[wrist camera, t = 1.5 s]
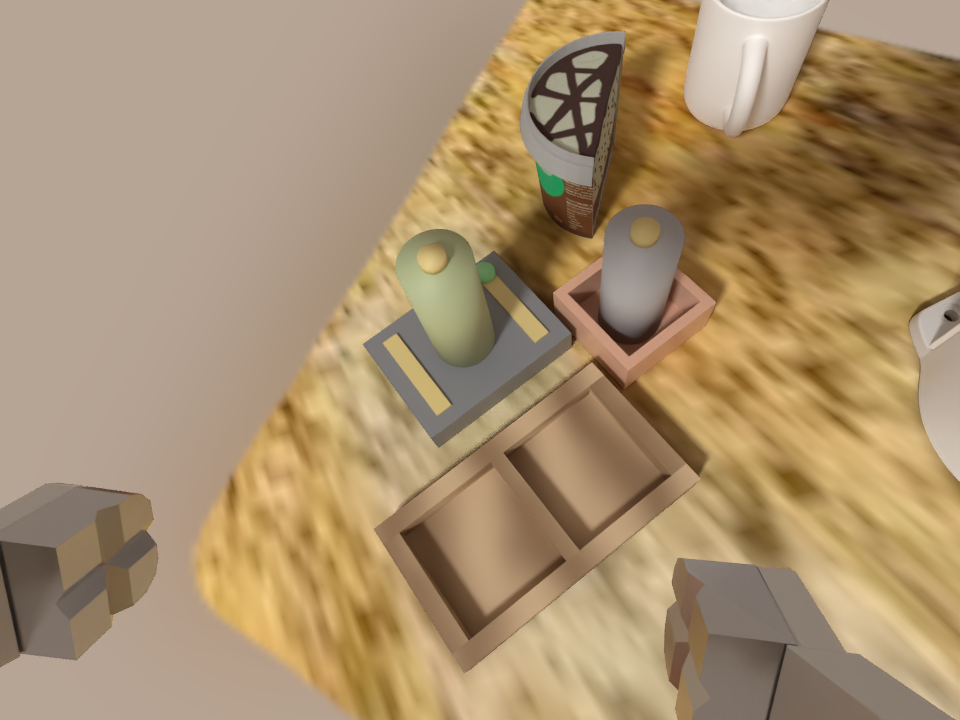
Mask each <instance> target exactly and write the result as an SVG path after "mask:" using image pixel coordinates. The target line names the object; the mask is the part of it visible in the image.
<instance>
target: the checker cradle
mask: <svg viewBox="0 0 960 720" xmlns="http://www.w3.org/2000/svg"><path fill="white" fill-rule="evenodd" d="M476 266H477V270H478V274H479V277H480V281H481V284H482V288H483V291H484V295H485V299H486V302H487V306H488V309H489V313H490V316H491V320H492V324H493V327H494V331H495V344H494V347H493V349H492V351H491V353H490V354H489V355H488V356H487V358H486V359H484V360H483V361H482V362H480V363H478V364H476V365H474V366H471V367H464V368H461V367H454V366H451V365H449V364H447V363H445V362H444V361H443V360H442V359H441V358H440V357H439V356H438V354H437V352H436V350H435V349H434V347H433V345H432V343H431V341H430V339H429V337H428V335H427V333H426V331H425V330H424V328H423V326H422V324H421V322H420V320H419V318H418V316H417V314H416V313H415V311H414V309H412V310H410V311H409V312H407V313H406V314H405V315H403V316H402V317H400V318H399V319H398V320H396V321H395V322H393V323H392V324H391V325H389V326H388V327H386V328H385V329H384V330H382V331H381V332H379V333H378V334H377V335H375V336H374V337H372V338H371V339H370V340H368V341H367V342H365V343H364V344H363V345H364V347H365V348H366V349H367V351H368V352H369V354H370V355H371V356H372V358H373V359H374V360H375V362H376V363H377V365H378V366H379V367H380V369H381V370H382V371H383V373H384V374H385V376H386V377H387V378H388V380H389V381H390V382H391V384H392V385H393V387H394V388H395V389H396V391H397V392H398V393H399V395H400V396H401V398H402V399H403V400H404V402H405V403H406V404H407V406H408V407H409V409H410V410H411V411H412V413H413V414H414V415H415V417H416V418H417V420H418V421H419V422H420V424H421V425H422V426H423V428H424V429H425V431H426V432H427V433H428V435H429V436H430V437H431V439H432V440H433V441H434V442H435V444H436V445H437V446H438V447H440V446H442V445H443V444H444V443H446V442H447V441H448V440H450V439H451V438H452V437H454V436H455V435H456V434H457V433H459V432H460V431H461V430H463V429H464V428H465V427H467V426H468V425H469V424H471V423H472V422H473V421H475V420H476V419H477V418H479V417H480V416H481V415H483V414H484V413H485V412H487V411H488V410H489V409H491V408H492V407H493V406H495V405H496V404H497V403H499V402H500V401H501V400H502V399H504V398H505V397H506V396H508V395H509V394H510V393H512V392H513V391H514V390H516V389H517V388H518V387H520V386H521V385H522V384H524V383H525V382H526V381H528V380H529V379H530V378H532V377H533V376H534V375H536V374H537V373H538V372H540V371H541V370H542V369H544V368H545V367H546V366H547V365H549V364H550V363H551V362H553V361H554V360H555V359H557V358H558V357H559V356H561V355H562V354H563V353H565V352H566V351H567V350H569V349H570V348H571V347H572V337H571V332H570V331H569V330H568V329H567V328H566V327H565V326H564V325H563V324H562V322H561V321H560V320H559V319H558V318H557V317H556V316H555V315H554V314H553V313H552V312H551V311H550V310H549V309H548V308H547V307H546V305H545V304H544V303H543V302H542V301H541V300H540V299H539V298H538V297H537V296H536V295H535V294H534V293H533V292H532V291H531V290H530V288H529V287H528V286H527V285H526V284H525V283H524V282H523V281H522V280H521V279H520V278H519V277H518V276H517V275H516V274H515V273H514V271H513V270H512V269H511V268H510V267H509V266H508V265H507V264H506V263H505V262H504V261H503V260H502V259H501V258H500V257H499V256H498V254H497V253H496V252H495V251H493V252H491V253H490V254H489V255H487V256H486V257H484V258H483V259H482V260H480V261H479V262H477V263H476Z"/></svg>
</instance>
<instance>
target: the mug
mask: <svg viewBox="0 0 960 720" xmlns="http://www.w3.org/2000/svg"><path fill="white" fill-rule="evenodd" d="M828 2H829V0H702V2H701V7H700V12H699V17H698V21H697V26H696V31H695V35H694V40H693V45H692V50H691V54H690V59H689V64H688V69H687V73H686V78H685V85H684V99H685V103H686V105H687V107H688V109H689V111H690V112H691V114H692V115H693V116H694V117H695V118H696V119H698V120H699V121H700V122H702V123H704V124H705V125H707V126H709V127H712V128H715V129H719V130H723V131H724V134H725V135H726V136H727V137H730V138H733V137H737V136H738V135H740V134H741V133H742V131H745V130H750V129H754V128H757V127H759V126H762V125H764V124H766V123H767V122H769V121H770V120H772V119H773V118H774V117H775V116H776V115H777V114H778V113H779V112H780V111H781V109H782V108H783V106H784V105H785V103H786V101H787V99H788V97H789V95H790V92H791V90H792V88H793V85H794V83H795V81H796V78H797V76H798V74H799V71H800V69H801V66H802V64H803V62H804V59H805V57H806V54H807V52H808V50H809V47H810V45H811V43H812V40H813V38H814V35H815V33H816V31H817V28H818V26H819V24H820V21H821V19H822V16H823V14H824V12H825V9H826V7H827V4H828Z"/></svg>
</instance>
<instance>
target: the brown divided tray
mask: <svg viewBox="0 0 960 720" xmlns="http://www.w3.org/2000/svg"><path fill="white" fill-rule="evenodd" d="M700 479H701V478H700V477H699V476H698V475H697V474H696V473H695V472H694V471H693V470H692V469H691V468H690V467H689V466H688V465H687V464H686V462H685V461H684V460H683V459H682V458H681V457H680V456H679V455H678V454H677V453H676V452H675V451H674V450H673V449H672V447H671V446H670V445H669V444H668V443H667V442H666V441H665V440H664V439H663V438H662V437H661V436H660V435H659V434H658V432H657V431H656V430H655V429H654V428H653V427H652V426H651V425H650V424H649V423H648V422H647V421H646V420H645V419H644V417H643V416H642V415H641V414H640V413H639V412H638V411H637V410H636V409H635V408H634V407H633V406H632V405H631V404H630V403H629V401H628V400H627V399H626V398H625V397H624V396H623V395H622V394H621V393H620V392H619V391H618V390H617V389H616V388H615V386H614V385H613V384H612V383H611V382H610V381H609V380H608V379H607V378H606V377H605V376H604V375H603V374H602V373H601V371H600V370H599V369H598V368H597V367H596V366H595V365H594V364H593V363H591V364H589V365H588V366H587V367H585V368H584V369H583V370H581V371H580V372H579V373H577V374H576V375H575V376H573V377H572V378H571V379H570V380H568V381H567V382H566V383H564V384H563V385H562V386H560V387H559V388H558V389H556V390H555V391H554V392H553V393H551V394H550V395H549V396H547V397H546V398H545V399H543V400H542V401H541V402H539V403H538V404H537V405H536V406H534V407H533V408H532V409H530V410H529V411H528V412H526V413H525V414H524V415H522V416H521V417H520V418H519V419H517V420H516V421H515V422H513V423H512V424H511V425H509V426H508V427H507V428H505V429H504V430H503V431H502V432H500V433H499V434H498V435H496V436H495V437H494V438H492V439H491V440H490V441H488V442H487V443H486V444H485V445H483V446H482V447H481V448H479V449H478V450H477V451H475V452H474V453H473V454H471V455H470V456H469V457H467V458H466V459H465V460H464V461H462V462H461V463H460V464H458V465H457V466H456V467H454V468H453V469H452V470H450V471H449V472H448V473H447V474H445V475H444V476H443V477H441V478H440V479H439V480H437V481H436V482H435V483H433V484H432V485H431V486H430V487H428V488H427V489H426V490H424V491H423V492H422V493H420V494H419V495H418V496H416V497H415V498H414V499H413V500H411V501H410V502H409V503H407V504H406V505H405V506H403V507H402V508H401V509H399V510H398V511H397V512H396V513H394V514H393V515H392V516H390V517H389V518H388V519H386V520H385V521H384V522H382V523H381V524H380V525H379V526H377V527H376V528H375V529H374V530H375V532H376V533H377V535H378V537H379V538H380V540H381V541H382V543H383V545H384V546H385V548H386V549H387V551H388V553H389V554H390V556H391V557H392V559H393V561H394V562H395V564H396V565H397V567H398V569H399V570H400V572H401V573H402V575H403V577H404V578H405V580H406V581H407V583H408V585H409V586H410V588H411V589H412V591H413V593H414V594H415V596H416V597H417V599H418V601H419V602H420V604H421V605H422V607H423V609H424V610H425V612H426V613H427V615H428V617H429V618H430V620H431V621H432V623H433V624H434V626H435V628H436V629H437V631H438V632H439V634H440V636H441V637H442V639H443V640H444V642H445V644H446V645H447V647H448V648H449V650H450V652H451V653H452V655H453V656H454V658H455V660H456V661H457V663H458V664H459V666H460V668H461V669H462V671H463V672H464V673H465V672H467V671H469V670H470V669H472V668H473V667H474V666H475V665H476V664H478V663H479V662H480V661H481V660H483V659H484V658H485V657H486V656H487V655H489V654H490V653H491V652H492V651H493V650H495V649H496V648H497V647H498V646H500V645H501V644H502V643H503V642H504V641H506V640H507V639H508V638H509V637H511V636H512V635H513V634H514V633H515V632H517V631H518V630H519V629H520V628H521V627H523V626H524V625H525V624H526V623H528V622H529V621H530V620H531V619H532V618H534V617H535V616H536V615H537V614H538V613H540V612H541V611H542V610H543V609H545V608H546V607H547V606H548V605H549V604H551V603H552V602H553V601H554V600H556V599H557V598H558V597H559V596H560V595H562V594H563V593H564V592H565V591H566V590H568V589H569V588H570V587H571V586H573V585H574V584H575V583H576V582H577V581H579V580H580V579H581V578H582V577H583V576H585V575H586V574H587V573H588V572H590V571H591V570H592V569H593V568H594V567H596V566H597V565H598V564H599V563H601V562H602V561H603V560H604V559H605V558H607V557H608V556H609V555H610V554H611V553H613V552H614V551H615V550H616V549H618V548H619V547H620V546H621V545H622V544H624V543H625V542H626V541H627V540H629V539H630V538H631V537H632V536H633V535H635V534H636V533H637V532H638V531H639V530H641V529H642V528H643V527H644V526H646V525H647V524H648V523H649V522H650V521H652V520H653V519H654V518H655V517H656V516H658V515H659V514H660V513H661V512H663V511H664V510H665V509H666V508H667V507H669V506H670V505H671V504H672V503H674V502H675V501H676V500H677V499H678V498H680V497H681V496H682V495H683V494H684V493H686V492H687V491H688V490H689V489H691V488H692V487H693V486H694V485H695V484H696V483H697V482H698V481H699V480H700Z"/></svg>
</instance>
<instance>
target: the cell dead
mask: <svg viewBox="0 0 960 720" xmlns="http://www.w3.org/2000/svg"><path fill="white" fill-rule="evenodd" d="M684 242H685V233H684V229H683V226H682V224H681V222H680V221H679V220H678V218H677V217H676V216H675V215H674V214H672V213H671V212H669V211H668V210H666V209H664V208H661V207H658V206H654V205H635V206H631V207H628V208H625V209H623V210H621V211H620V212H618V213H617V214H616V215H615V216H614V217H613V218H612V219H611V220H610V222H609V223H608V225H607V227H606V230H605V238H604V250H603V262H602V274H601V285H600V297H599V309H598V322H599V325H600V327H601V328H602V329H603V330H604V331H605V332H606V333H607V334H608V335H609V337H610V338H611V339H612V340H613V341H615V342H618V343H621V344H626V345H633V344H639V343H642V342H645V341H647V340H648V339H650V338H651V337H652V336H653V335H654V334H655V333H656V331H657V330H658V328H659V325H660V322H661V318H662V315H663V312H664V309H665V305H666V302H667V299H668V295H669V292H670V289H671V285H672V282H673V279H674V276H675V272H676V269H677V266H678V262H679V259H680V256H681V253H682V249H683V246H684Z"/></svg>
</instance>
